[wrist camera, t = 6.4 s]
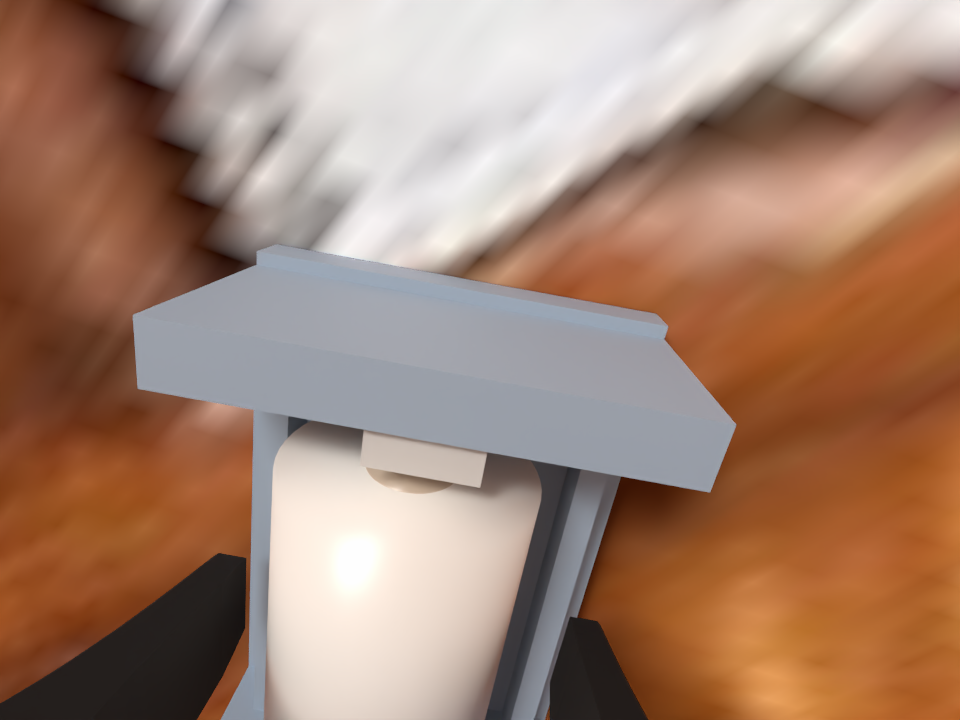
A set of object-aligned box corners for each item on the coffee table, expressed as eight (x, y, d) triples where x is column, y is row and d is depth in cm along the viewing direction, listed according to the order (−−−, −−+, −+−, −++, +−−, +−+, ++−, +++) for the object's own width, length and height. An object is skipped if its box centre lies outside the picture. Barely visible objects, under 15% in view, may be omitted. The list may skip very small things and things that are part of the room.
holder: (533, 720, 17) (540, 926, 13) (262, 671, 17) (169, 860, 13) (656, 313, 12) (743, 406, 8) (276, 244, 12) (131, 294, 8)
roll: (469, 660, 16) (476, 877, 11) (296, 646, 15) (225, 867, 10) (525, 417, 13) (565, 573, 8) (312, 390, 12) (225, 538, 8)
